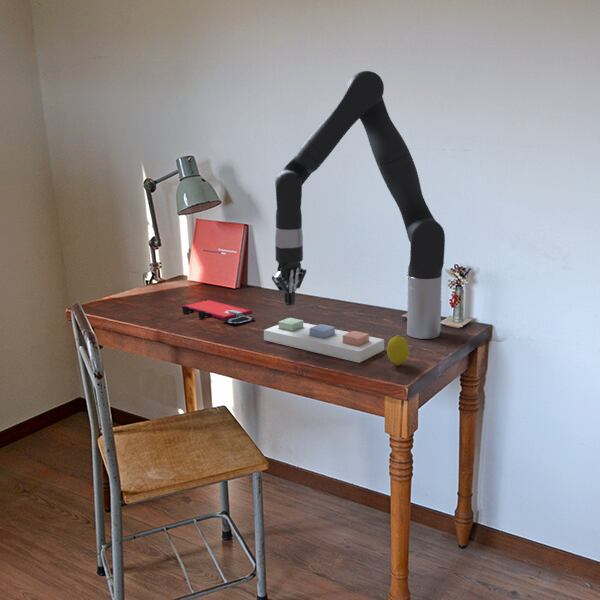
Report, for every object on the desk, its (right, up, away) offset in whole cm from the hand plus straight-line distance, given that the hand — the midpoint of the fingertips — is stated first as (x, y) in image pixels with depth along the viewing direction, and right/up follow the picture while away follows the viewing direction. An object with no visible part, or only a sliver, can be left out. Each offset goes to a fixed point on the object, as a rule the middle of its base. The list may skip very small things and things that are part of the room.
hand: (289, 304), depth 199 cm
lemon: (+27, -15, -21) cm, 38 cm away
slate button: (+9, -9, -5) cm, 13 cm away
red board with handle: (-23, -4, +28) cm, 37 cm away
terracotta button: (+18, -10, -11) cm, 23 cm away
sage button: (0, -7, +2) cm, 7 cm away
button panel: (+9, -11, -4) cm, 15 cm away
